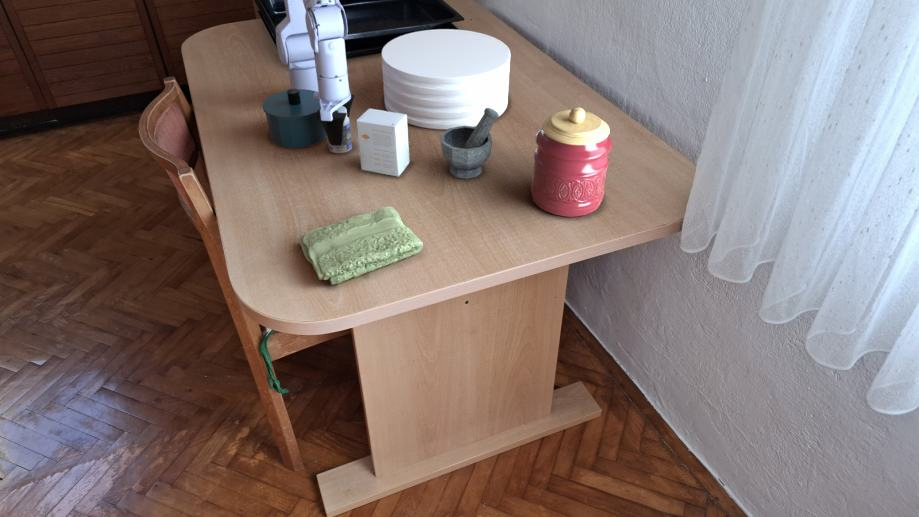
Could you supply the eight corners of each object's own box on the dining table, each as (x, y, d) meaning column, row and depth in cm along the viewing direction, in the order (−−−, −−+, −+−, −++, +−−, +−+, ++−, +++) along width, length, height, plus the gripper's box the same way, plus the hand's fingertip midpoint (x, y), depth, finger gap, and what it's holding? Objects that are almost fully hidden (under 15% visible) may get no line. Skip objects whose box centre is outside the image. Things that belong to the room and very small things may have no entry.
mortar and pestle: (450, 187, 121) (451, 128, 114) (433, 163, 128) (432, 106, 120) (505, 175, 125) (509, 117, 117) (485, 152, 131) (488, 96, 124)
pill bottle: (354, 152, 131) (350, 113, 126) (330, 155, 130) (325, 116, 125) (350, 141, 134) (346, 103, 129) (327, 143, 133) (322, 105, 128)
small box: (410, 163, 128) (408, 113, 121) (398, 177, 124) (396, 127, 117) (372, 156, 130) (368, 107, 123) (360, 170, 125) (355, 119, 119)
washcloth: (294, 244, 107) (292, 228, 105) (393, 215, 114) (392, 200, 112) (322, 291, 98) (320, 275, 96) (427, 256, 105) (427, 240, 103)
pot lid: (279, 91, 139) (276, 75, 137) (336, 97, 137) (334, 81, 135) (252, 118, 129) (248, 101, 127) (313, 125, 127) (311, 108, 125)
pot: (284, 118, 142) (279, 90, 138) (336, 124, 140) (333, 95, 136) (260, 144, 133) (255, 114, 129) (315, 150, 131) (311, 121, 127)
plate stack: (482, 70, 164) (484, 23, 156) (526, 119, 143) (530, 68, 136) (372, 83, 156) (369, 36, 149) (402, 137, 136) (399, 85, 129)
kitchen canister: (584, 227, 112) (599, 134, 101) (517, 204, 117) (524, 113, 106) (613, 192, 120) (629, 103, 109) (549, 172, 126) (559, 85, 115)
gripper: (320, 56, 128) (328, 119, 137) (300, 87, 117) (310, 154, 125) (356, 58, 128) (361, 121, 136) (339, 89, 116) (346, 156, 125)
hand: (339, 137), depth 131 cm, fingers open, 5 cm apart
